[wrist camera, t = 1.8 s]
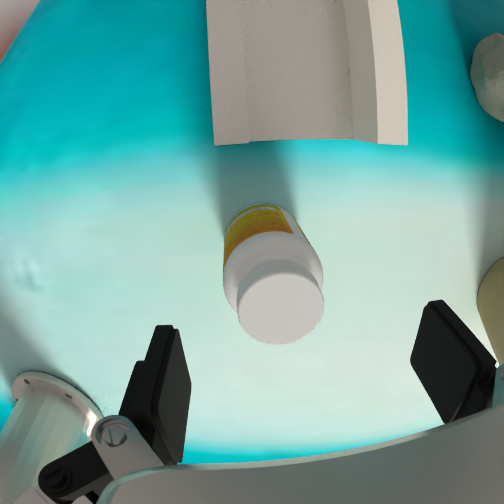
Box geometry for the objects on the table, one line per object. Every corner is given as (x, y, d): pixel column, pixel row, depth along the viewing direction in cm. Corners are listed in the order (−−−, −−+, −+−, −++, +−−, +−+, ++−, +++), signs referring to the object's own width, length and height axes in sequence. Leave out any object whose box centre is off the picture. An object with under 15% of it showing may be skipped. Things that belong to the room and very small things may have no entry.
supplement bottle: (210, 249, 23) (198, 328, 14) (251, 187, 22) (266, 232, 13) (271, 284, 25) (292, 371, 16) (313, 228, 23) (362, 293, 14)
